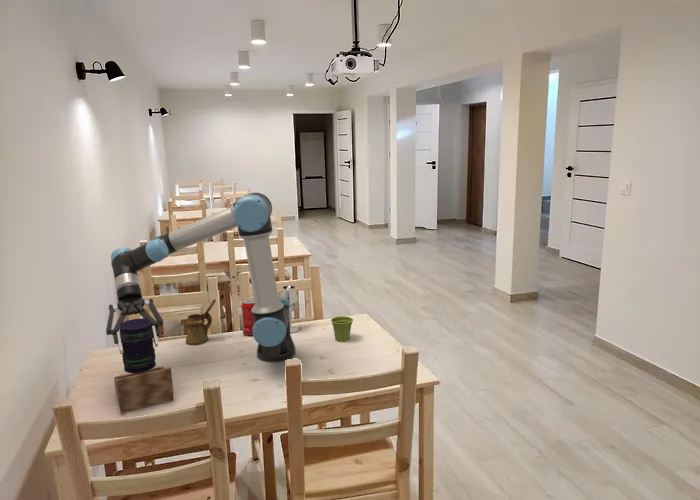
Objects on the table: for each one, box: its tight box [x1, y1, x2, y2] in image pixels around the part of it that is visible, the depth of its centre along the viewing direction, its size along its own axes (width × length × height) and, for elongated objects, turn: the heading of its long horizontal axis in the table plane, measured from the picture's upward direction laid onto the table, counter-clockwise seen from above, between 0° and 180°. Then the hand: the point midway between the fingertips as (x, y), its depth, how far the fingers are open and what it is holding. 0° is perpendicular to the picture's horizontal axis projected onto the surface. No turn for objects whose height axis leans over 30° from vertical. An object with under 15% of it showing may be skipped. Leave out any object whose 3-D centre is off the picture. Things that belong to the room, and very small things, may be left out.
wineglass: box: [280, 285, 299, 334], centre depth 220 cm, size 8×8×20 cm
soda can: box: [240, 298, 255, 337], centre depth 218 cm, size 8×8×15 cm
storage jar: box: [119, 318, 157, 374], centre depth 162 cm, size 10×10×15 cm
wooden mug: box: [185, 299, 216, 346], centre depth 210 cm, size 9×14×18 cm, turn 102°
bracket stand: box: [113, 366, 175, 414], centre depth 164 cm, size 16×16×11 cm
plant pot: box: [330, 315, 354, 342], centre depth 210 cm, size 9×9×9 cm
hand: (139, 348), depth 159 cm, fingers closed on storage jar, 10 cm apart
